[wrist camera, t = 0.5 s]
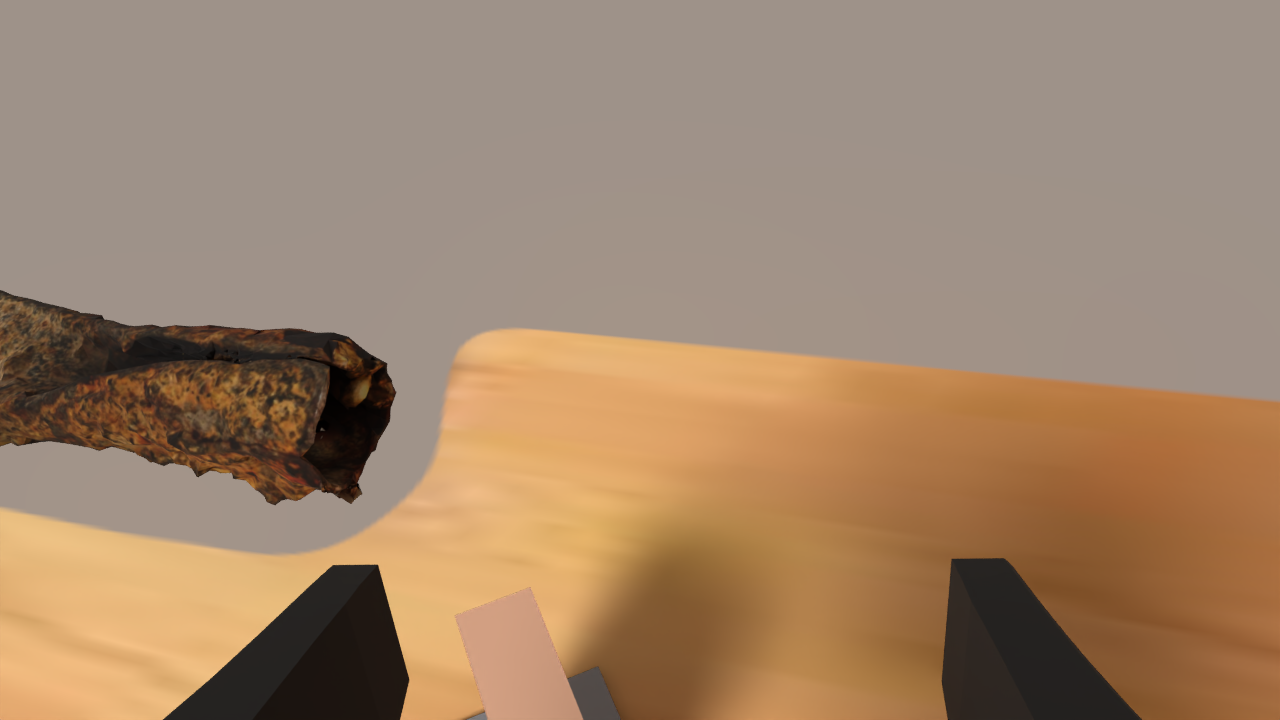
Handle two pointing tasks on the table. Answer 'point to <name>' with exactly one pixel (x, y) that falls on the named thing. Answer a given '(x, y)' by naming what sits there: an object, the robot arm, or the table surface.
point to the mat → (587, 697)
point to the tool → (196, 396)
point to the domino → (516, 661)
